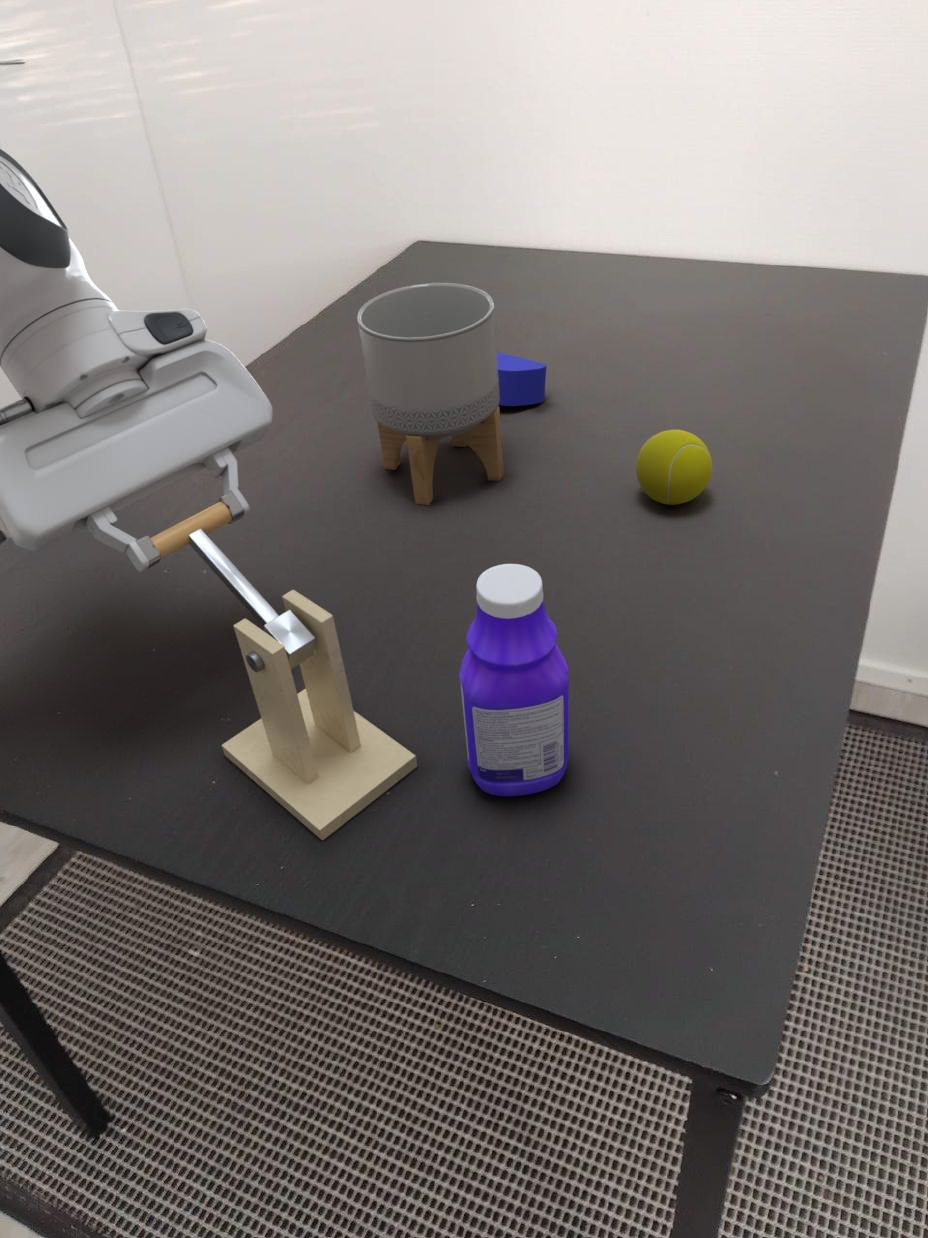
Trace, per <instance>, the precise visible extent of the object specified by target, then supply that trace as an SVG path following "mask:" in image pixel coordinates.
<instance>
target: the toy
mask: <svg viewBox="0 0 928 1238" xmlns="http://www.w3.org/2000/svg"><path fill="white" fill-rule="evenodd" d="M497 362H498V378H499V393H500V401H499V405H498V406H503V407H518V406H519V407H520V406H529V405H535V404H536V405H539V404H540V403H542V402H544V401H545V394H546V393H545V392H546V380H547V379H546V378H547V367H548V366H547V364H545V363H542V362H538V361H535V360H532V359H528V358H524V357H521V356H516V355H513V354H507V353H503V352H499V351H497Z"/></svg>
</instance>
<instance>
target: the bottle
mask: <svg viewBox="0 0 928 1238" xmlns="http://www.w3.org/2000/svg"><path fill="white" fill-rule="evenodd" d="M475 598H476V615H475V618H474V620H472V621H471V623H470V626H469V627H468V630H467V633H466V645H467V647H468V648H467V650H466V652H465V654H464V656H463V659H462V662H461V665H460V669H459V673H458V676H459V682H460V693H461V703H462V714H463V723H464V733H465V743H466V753H467V754H466V755H467V756H466V757H467V758H466V760H467V766H468V769H469V771H470V773H471V776H472V779H473V780H474V782H475V784H476V785H477V786H478V787H479V788H480V789H481V790H482V791H483V792H484V793H486V794H488V795H489V794H490V795H493V796H498V797H517V796H518V797H519V796H525V795H532V794H537V793H541V792H544V791H546V790H549V789H551V788H552V787H554V786H556V785H558V784H559V783H560V781H561V780H562V778H563V777H564V774H565V773H566V770H567V766H568V760H569V695H570V694H569V688H570V687H569V676H568V674H569V670H570V669H569V666H568V664H567V663H568V662H567V660H566V658H565V657H564V656H563V653H562V651H561V649H560V647H559V646H558V645H557V641H558V629H557V627H556V625H555V623H554V622H553V621H552V619H551V618H550V617H549V616H548V614H547V610H546V607H545V603H544V589H543V580H542V577H541V575H540V574H539V573H538V572H537V571H536V570H535V569H534V568H532V567H529V566H527V565H524V564H520V563H503V564H498V565H495V566H491V567H490V568H487V569H486V570H484V571H483V572H482V573H480V575H479V576H478V578H477V582H476V597H475Z"/></svg>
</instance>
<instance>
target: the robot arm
mask: <svg viewBox="0 0 928 1238" xmlns="http://www.w3.org/2000/svg"><path fill="white" fill-rule="evenodd" d="M207 332H208V328H207V324H206V322H205V320H204V319H203V317H202V316H201V315H200V313H199V312H198V311H196V310H194V309H192V308H176V309H159V310H124V309H123V310H119V309H118V308H117V306H116V304H115V303H114V302H113V300H112V299H111V298H110V297H109V296H108V295H107V294H106V293H104V292H103V291H102V290H101V289H99V287H97V285H95V283H94V282H93V281H92V279H91V278H90V275H89V274H88V272H87V269H86V266H85V263H84V259H83V257H82V255H81V253H80V251H79V250H78V248H77V247H76V245H75V244H74V242H73V241H72V240H71V238H70V233H69V229H68V228H67V226H66V224H65V222H64V220H62V217H60V215H59V213H58V212H57V210H56V209H55V208H54V206H53V204H52V203H51V202H50V200H49V198H48V197H47V196H46V195H45V193H44V191H43V190H42V189H41V187H40V186H39V184H38V183H37V182H36V181H35V179H34V178H33V177H32V176H31V175H30V173H29V172H28V171H27V170H26V169H25V168H24V167H23V166H22V165H21V163H19V162H18V161H17V160H16V159H14V157H12V156H11V155H10V154H9V153H7V152H6V151H4V150H2V149H1V148H0V368H1V370H2V371H3V373H4V375H5V376H6V377H7V379H8V380H9V382H10V383H11V385H12V387H13V388H14V389H15V391H16V392H17V393H18V395H19V396H20V398H21V399H19V400H17V401H15V402H13V403H12V402H11V403H10V404H7V405H5V406H3V407H0V522H1V524H2V526H3V528H4V529H5V531H6V532H7V534H8V536H9V537H10V538H11V540H12V542H13V543H14V545H16V546H17V547H19V548H22V549H24V550H27V551H30V552H33V553H36V552H37V553H38V552H40V551H41V550H44V549H45V548H47V547H50V546H52V545H54V544H55V543H58V542H59V541H62V540H63V539H65V538H67V537H69V536H71V535H73V534H75V533H78V532H80V531H81V530H84V529H86V528H88V530H89V531H90V532H91V534H92V535H93V537H94V538H95V540H96V541H98V542H100V543H102V544H104V545H106V546H108V547H110V548H112V549H114V550H116V551H118V552H120V553H122V554H126V556H127V558H128V559H129V561H130V562H131V563H132V564H133V566H134V568H135V569H136V571H138V573H143V572H145V571H147V570H149V569H150V568H152V567H154V566H156V565H157V564H159V563H160V562H161V560H162V559H161V554H160V552H159V550H158V549H157V548H155V547H153V542H152V540H151V539H150V538H151V537H150V536H149V534H147V535H145V536H143V537H141V538H138V539H137V538H136V537H133V536H132V535H130V534H128V533H127V532H124V531H123V530H121V529H119V528H117V527H116V524H117V522H118V517H117V515H116V513H117V512H119V511H121V510H124V509H126V508H128V507H130V506H132V505H133V504H135V503H137V502H140V501H142V500H144V499H146V498H148V497H150V496H152V495H154V494H156V493H158V492H160V491H162V490H163V489H166V488H168V487H170V486H172V485H173V484H176V483H178V482H180V481H182V480H184V479H186V478H188V477H190V476H192V475H194V474H196V473H198V472H200V471H202V470H204V469H207V471H208V472H209V474H210V475H211V477H212V478H213V479H215V480H216V479H218V478H220V477H221V487H222V496H220V497H219V499H218V501H217V502H216V504H217V503H219V502H222V503H224V504H225V505H226V506H227V508H228V509H229V511H230V514H231V517H232V520H231V521H230V522H229V523H227V524H228V525H231V524H233V523H235V522H236V521H239V520H241V519H243V518H244V517H246V516H248V514H249V513H250V511H251V507H250V505H249V503H248V501H247V499H246V498H245V497H244V495H243V494H242V492H241V491H240V490H239V487H240V485H239V483H240V482H239V470H238V459H236V457H235V456H234V454H237V453H238V452H240V451H242V450H244V449H246V448H247V447H250V446H252V445H254V444H256V443H258V442H259V441H261V440H263V438H265V436H266V434H268V433H267V432H268V431H269V430H270V428H271V426H272V424H273V419H274V408H273V405H272V404H271V402H270V399H269V398H268V396H267V395H266V394H265V391H264V390H263V389H262V388H261V386H260V385H259V384H258V382H257V381H256V380H255V378H254V377H253V376H252V374H251V373H250V372H249V370H248V369H247V368H246V367H245V366H244V364H243V363H242V362H241V361H240V360H239V359H238V357H237V356H236V355H235V354H234V353H233V352H232V351H231V350H230V349H228V348H227V347H226V346H224V345H223V344H221V343H218V342H216V341H213V340H205V339H206V337H207Z"/></svg>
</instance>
